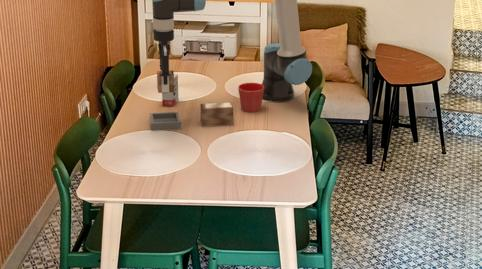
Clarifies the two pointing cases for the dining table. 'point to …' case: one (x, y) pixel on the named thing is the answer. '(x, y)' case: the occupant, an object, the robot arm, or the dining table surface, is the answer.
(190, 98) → the dining table surface
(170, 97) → the ink box
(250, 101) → the flower pot
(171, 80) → the brown block
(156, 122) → the slate tray
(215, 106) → the brown wooden box
